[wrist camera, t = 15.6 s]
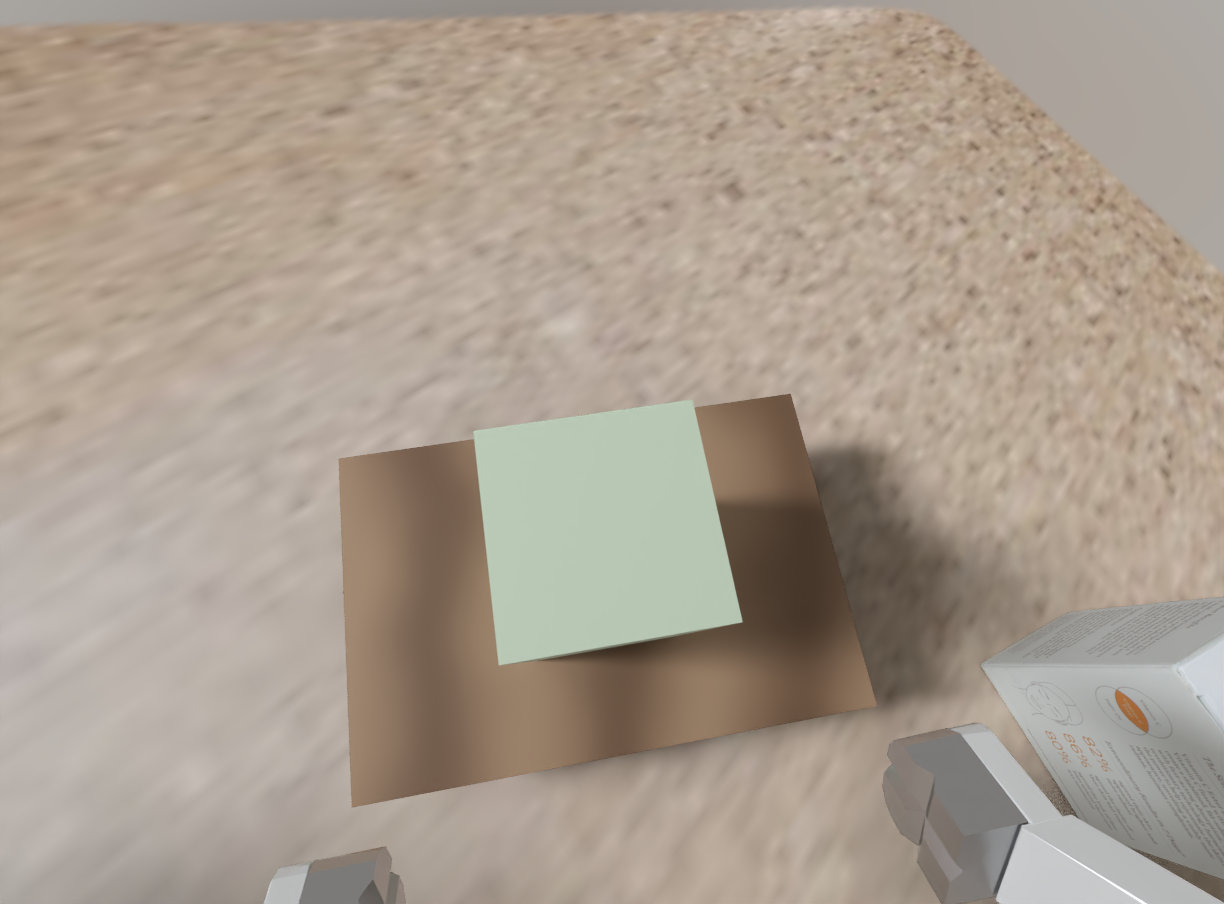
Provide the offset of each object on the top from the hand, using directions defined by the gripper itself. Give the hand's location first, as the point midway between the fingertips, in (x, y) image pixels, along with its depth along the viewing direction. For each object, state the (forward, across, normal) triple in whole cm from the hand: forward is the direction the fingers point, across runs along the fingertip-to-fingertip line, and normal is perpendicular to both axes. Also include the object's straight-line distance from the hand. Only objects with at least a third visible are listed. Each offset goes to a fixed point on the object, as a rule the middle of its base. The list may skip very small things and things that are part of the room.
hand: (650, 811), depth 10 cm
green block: (+12, 0, +5) cm, 13 cm away
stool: (+17, 0, +10) cm, 20 cm away
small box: (+11, -21, +16) cm, 29 cm away
